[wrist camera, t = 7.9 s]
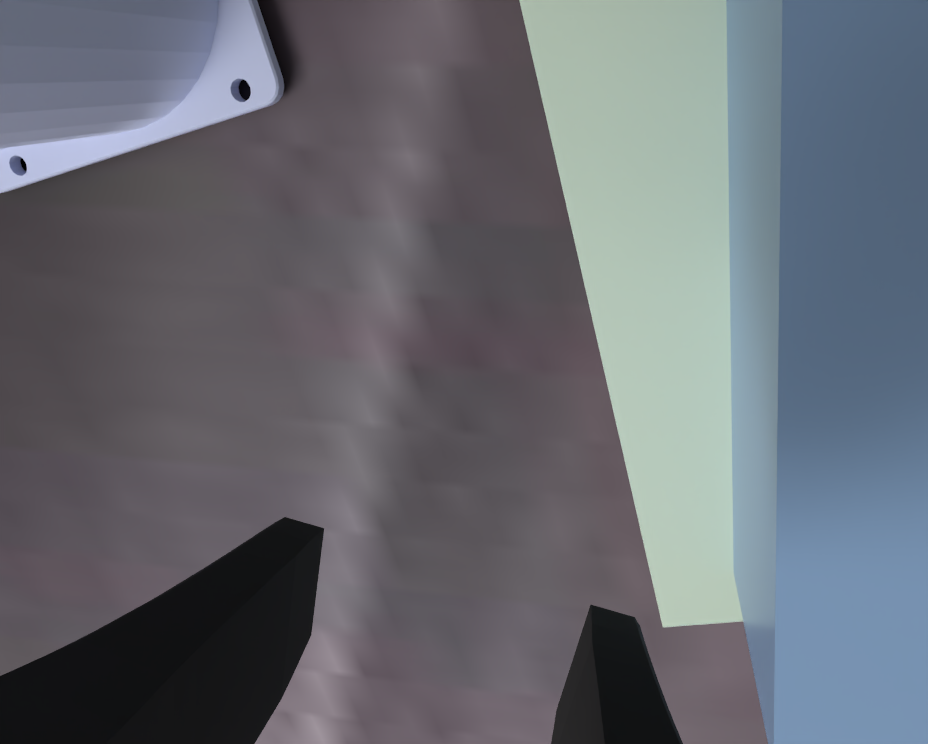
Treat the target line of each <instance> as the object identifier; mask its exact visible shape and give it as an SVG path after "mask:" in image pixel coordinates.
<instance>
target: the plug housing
mask: <svg viewBox="0 0 928 744" xmlns="http://www.w3.org/2000/svg"><path fill="white" fill-rule="evenodd" d="M726 9H727V88H728V168H729V248H730V328H731V407H732V487H733V567H734V577H735V582H736V587H737V592H738V597H739V602H740V607H741V612H742V617H743V622H744V627H745V632H746V636H747V641H748V646H749V651H750V656H751V661H752V666H753V671H754V676H755V681H756V686H757V691H758V696H759V700H760V705H761V710H762V715H763V720H764V725H765V730H766V735H767V740H768V744H928V0H726Z"/></svg>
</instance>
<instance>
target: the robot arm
mask: <svg viewBox="0 0 928 744" xmlns="http://www.w3.org/2000/svg"><path fill="white" fill-rule="evenodd" d="M242 80H245V81H247V83H248V84H249V86H250V89H251V95H250V97H249V99H248V100H247V101H246V100H244V99H243V98H242V97H241V95H240V94H239V88H238V87H239V84H240V82H241V81H242ZM283 91H284V81H283V76H282V73H281V70H280V67H279V64H278V61H277V58H276V55H275V53H274V50H273V47H272V44H271V41H270V38H269V35H268V32H267V29H266V26H265V23H264V20H263V17H262V14H261V11H260V8H259V5H258V2H257V0H0V193H2V192H7V191H11V190H14V189H17V188H20V187H23V186H26V185H29V184H32V183H35V182H38V181H41V180H45V179H48V178H51V177H54V176H57V175H60V174H63V173H66V172H69V171H72V170H75V169H78V168H81V167H84V166H87V165H90V164H94V163H97V162H100V161H103V160H106V159H109V158H112V157H115V156H118V155H121V154H124V153H127V152H130V151H133V150H136V149H139V148H143V147H146V146H149V145H152V144H155V143H158V142H161V141H164V140H167V139H170V138H173V137H176V136H179V135H182V134H185V133H188V132H192V131H195V130H198V129H201V128H204V127H207V126H210V125H213V124H216V123H219V122H222V121H225V120H228V119H231V118H234V117H237V116H241V115H244V114H247V113H250V112H253V111H256V110H259V109H262V108H265V107H268V106H271V105H273V104H275V103H277V102H278V101H279V100H280V98H281V97H282V95H283ZM21 158H23V160H24V161H25V163H26V166H27V171H24V169H23V168H22V166H21V162H20V160H21ZM323 532H324V528H321V527H317V526H314V525H310V524H307V523H303V522H300V521H296V520H293V519H289V518H286V517H284V518H282V519H281V520H279V521H277V522H275V523H274V524H272V525H271V526H269V527H267V528H266V529H264V530H263V531H261V532H260V533H258V534H257V535H255V536H254V537H252V538H251V539H249V540H247V541H246V542H244V543H243V544H241V545H240V546H238V547H237V548H235V549H234V550H232V551H231V552H229V553H227V554H226V555H224V556H223V557H221V558H220V559H218V560H216V561H215V562H213V563H212V564H210V565H209V566H207V567H205V568H204V569H202V570H201V571H199V572H197V573H196V574H194V575H192V576H191V577H189V578H187V579H186V580H184V581H182V582H181V583H179V584H177V585H176V586H174V587H173V588H171V589H169V590H168V591H166V592H164V593H163V594H161V595H159V596H158V597H156V598H154V599H152V600H151V601H149V602H147V603H145V604H143V605H142V606H140V607H138V608H136V609H134V610H133V611H131V612H129V613H127V614H125V615H123V616H122V617H120V618H118V619H116V620H114V621H113V622H111V623H109V624H107V625H105V626H103V627H102V628H100V629H98V630H96V631H94V632H92V633H90V634H88V635H86V636H85V637H83V638H81V639H79V640H77V641H75V642H73V643H71V644H69V645H67V646H65V647H63V648H61V649H58V650H56V651H54V652H52V653H50V654H48V655H46V656H44V657H42V658H39V659H37V660H35V661H33V662H31V663H28V664H26V665H24V666H22V667H20V668H17V669H15V670H13V671H11V672H9V673H6V674H4V675H2V676H0V744H254V743H255V742H256V740H257V738H258V737H259V735H260V734H261V732H262V730H263V729H264V727H265V725H266V724H267V722H268V720H269V719H270V717H271V715H272V714H273V712H274V710H275V709H276V707H277V705H278V704H279V702H280V700H281V699H282V696H283V694H284V692H285V690H286V688H287V686H288V684H289V682H290V680H291V678H292V675H293V673H294V671H295V669H296V667H297V665H298V663H299V660H300V658H301V656H302V654H303V652H304V649H305V647H306V645H307V643H308V641H309V638H310V636H311V631H312V623H313V615H314V607H315V598H316V590H317V582H318V574H319V565H320V557H321V549H322V541H323ZM551 744H683V743H682V740H681V738H680V736H679V733H678V731H677V729H676V726H675V724H674V721H673V719H672V716H671V714H670V711H669V709H668V706H667V704H666V701H665V698H664V696H663V693H662V690H661V688H660V685H659V682H658V680H657V677H656V674H655V671H654V668H653V665H652V663H651V660H650V657H649V654H648V651H647V648H646V644H645V641H644V638H643V635H642V632H641V628H640V625H639V624H638V622H637V621H636V619H635V617H632V616H628V615H625V614H621V613H618V612H614V611H611V610H607V609H604V608H600V607H597V606H593V605H590V608H589V612H588V615H587V618H586V621H585V624H584V627H583V630H582V633H581V636H580V639H579V643H578V646H577V649H576V652H575V655H574V658H573V661H572V664H571V667H570V670H569V673H568V677H567V680H566V683H565V686H564V689H563V692H562V695H561V698H560V701H559V704H558V707H557V711H556V717H555V724H554V730H553V736H552V742H551Z"/></svg>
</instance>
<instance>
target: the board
mask: <svg viewBox="0 0 928 744" xmlns="http://www.w3.org/2000/svg"><path fill="white" fill-rule="evenodd" d="M520 5H521V9H522V14H523V18H524V22H525V27H526V31H527V35H528V40H529V44H530V48H531V53H532V57H533V62H534V66H535V70H536V75H537V79H538V83H539V88H540V92H541V97H542V101H543V105H544V110H545V114H546V118H547V123H548V127H549V132H550V136H551V140H552V145H553V149H554V153H555V158H556V162H557V166H558V171H559V175H560V180H561V184H562V188H563V193H564V197H565V201H566V206H567V210H568V215H569V219H570V223H571V228H572V232H573V236H574V241H575V245H576V250H577V254H578V258H579V263H580V267H581V271H582V276H583V280H584V284H585V289H586V293H587V298H588V302H589V306H590V311H591V315H592V319H593V324H594V328H595V333H596V337H597V341H598V346H599V350H600V354H601V359H602V363H603V368H604V372H605V376H606V381H607V385H608V389H609V394H610V398H611V402H612V407H613V411H614V416H615V420H616V424H617V429H618V433H619V437H620V442H621V446H622V451H623V455H624V459H625V464H626V468H627V472H628V477H629V481H630V485H631V490H632V494H633V499H634V503H635V507H636V512H637V516H638V520H639V525H640V529H641V534H642V538H643V542H644V547H645V551H646V555H647V560H648V564H649V569H650V573H651V577H652V582H653V586H654V590H655V595H656V599H657V603H658V608H659V612H660V617H661V621H662V625H663V627H674V626H687V625H700V624H713V623H727V622H740V621H743V617H742V612H741V607H740V602H739V597H738V592H737V587H736V582H735V577H734V567H733V487H732V407H731V328H730V248H729V168H728V88H727V9H726V0H520Z"/></svg>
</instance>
